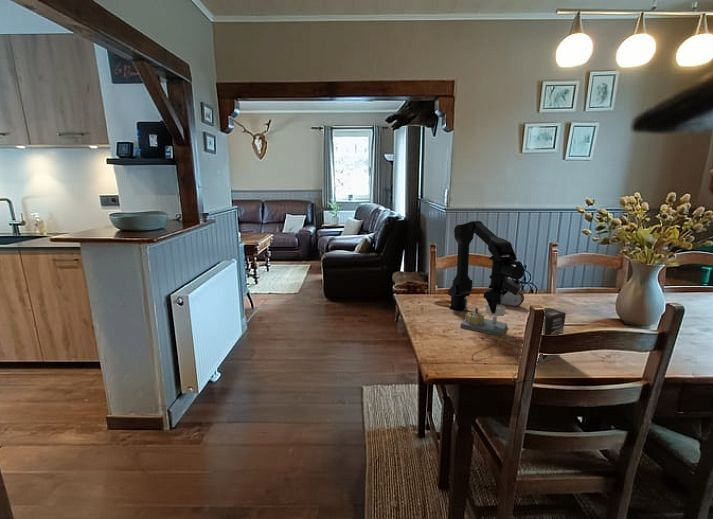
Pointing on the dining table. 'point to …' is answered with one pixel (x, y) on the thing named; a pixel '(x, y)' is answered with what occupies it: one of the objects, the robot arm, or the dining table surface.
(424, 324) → the dining table surface
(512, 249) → the robot arm
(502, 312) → the loose gear
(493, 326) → the gear board
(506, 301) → the tin
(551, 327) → the coffee box
